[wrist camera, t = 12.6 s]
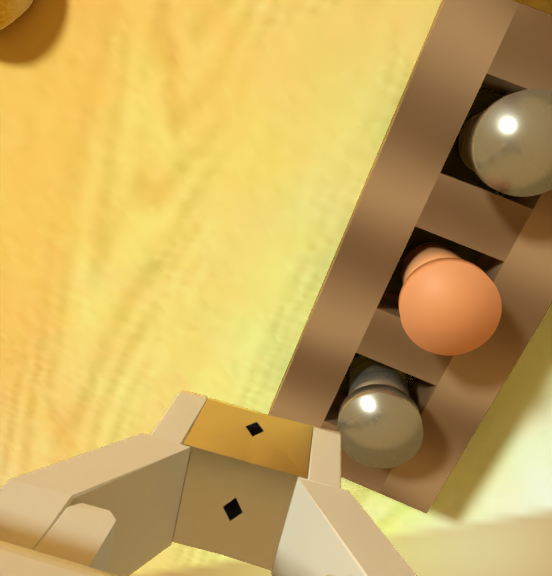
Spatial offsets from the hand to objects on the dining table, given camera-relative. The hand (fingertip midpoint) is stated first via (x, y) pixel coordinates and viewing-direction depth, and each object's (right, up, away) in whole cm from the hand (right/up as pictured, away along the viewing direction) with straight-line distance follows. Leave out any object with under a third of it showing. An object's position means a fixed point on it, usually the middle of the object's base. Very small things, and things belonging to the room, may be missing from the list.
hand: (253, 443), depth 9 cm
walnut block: (+9, +4, +19) cm, 21 cm away
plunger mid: (+9, +4, +18) cm, 20 cm away
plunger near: (+11, +10, +16) cm, 22 cm away
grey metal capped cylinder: (+6, -2, +21) cm, 22 cm away
